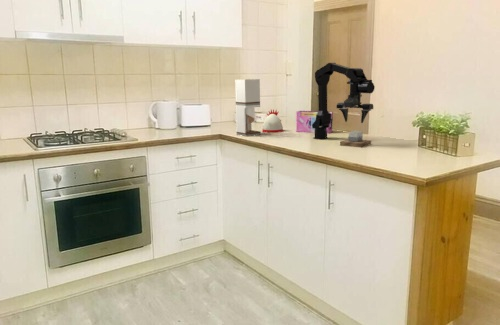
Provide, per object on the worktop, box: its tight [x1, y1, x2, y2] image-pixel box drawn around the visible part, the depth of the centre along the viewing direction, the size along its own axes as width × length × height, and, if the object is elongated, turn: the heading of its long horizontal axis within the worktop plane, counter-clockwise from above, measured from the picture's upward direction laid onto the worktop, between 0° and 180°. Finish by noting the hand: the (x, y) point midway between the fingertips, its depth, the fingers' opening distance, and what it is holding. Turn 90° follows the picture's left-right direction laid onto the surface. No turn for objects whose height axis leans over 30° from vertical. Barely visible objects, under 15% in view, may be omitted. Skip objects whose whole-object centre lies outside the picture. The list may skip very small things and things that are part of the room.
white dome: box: [262, 109, 284, 134], centre depth 279 cm, size 14×14×15 cm
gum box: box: [295, 110, 334, 134], centre depth 271 cm, size 24×8×14 cm, turn 60°
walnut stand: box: [339, 138, 372, 148], centre depth 219 cm, size 12×12×2 cm
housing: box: [348, 130, 364, 142], centre depth 219 cm, size 5×6×5 cm
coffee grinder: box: [234, 78, 262, 137], centre depth 262 cm, size 11×11×35 cm
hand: (353, 122), depth 221 cm, fingers open, 9 cm apart
